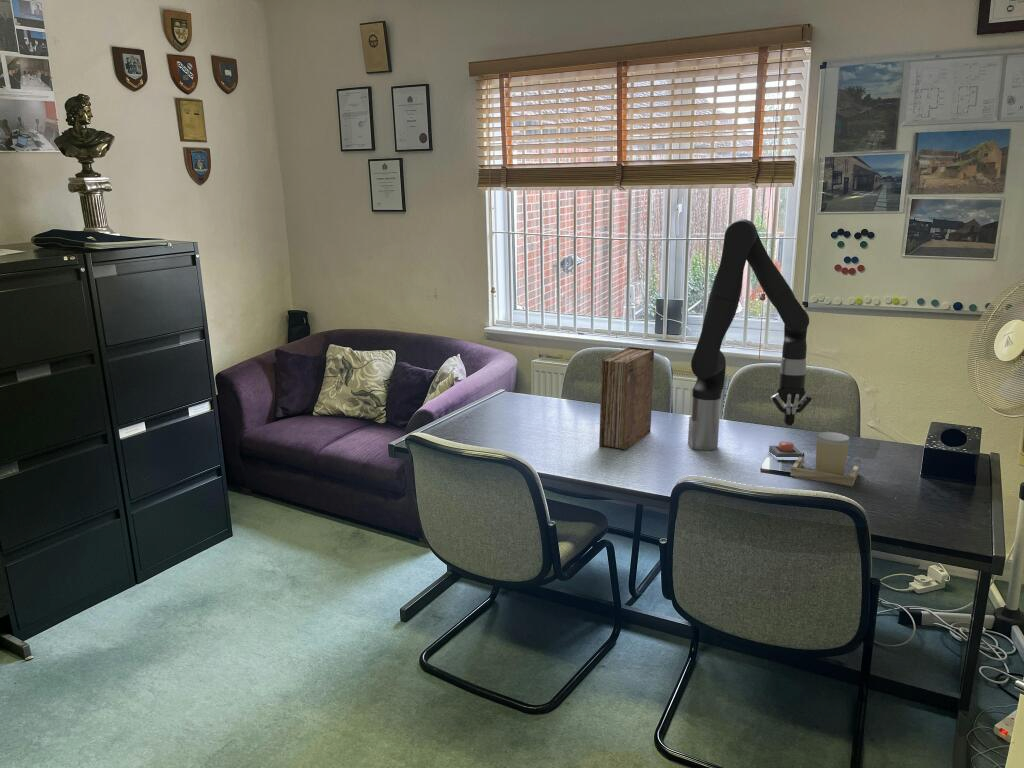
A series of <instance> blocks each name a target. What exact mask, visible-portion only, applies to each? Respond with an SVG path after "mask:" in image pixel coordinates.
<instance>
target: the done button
mask: <svg viewBox="0 0 1024 768" xmlns="http://www.w3.org/2000/svg"><path fill="white" fill-rule="evenodd" d="M778 446H779V451H780V452H793V447H794V446H795V445H794V443H793V442H791V441H780V442H779V443H778Z"/></svg>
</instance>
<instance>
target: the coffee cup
mask: <svg viewBox="0 0 1024 768" xmlns="http://www.w3.org/2000/svg"><path fill="white" fill-rule="evenodd" d="M815 439H816V447H815V448H816V450H815V452H816V453H815V471H820V472H826V473H832V474H838V475H844V474H845V468H846V464H847V459H848V455H849V454H848V452H849V449H850V447H849V446H850V443H851V439H850V437H849V435H846V434H843V433H840V432H835V431H822V432H819V433H817V435H816V438H815Z"/></svg>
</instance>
